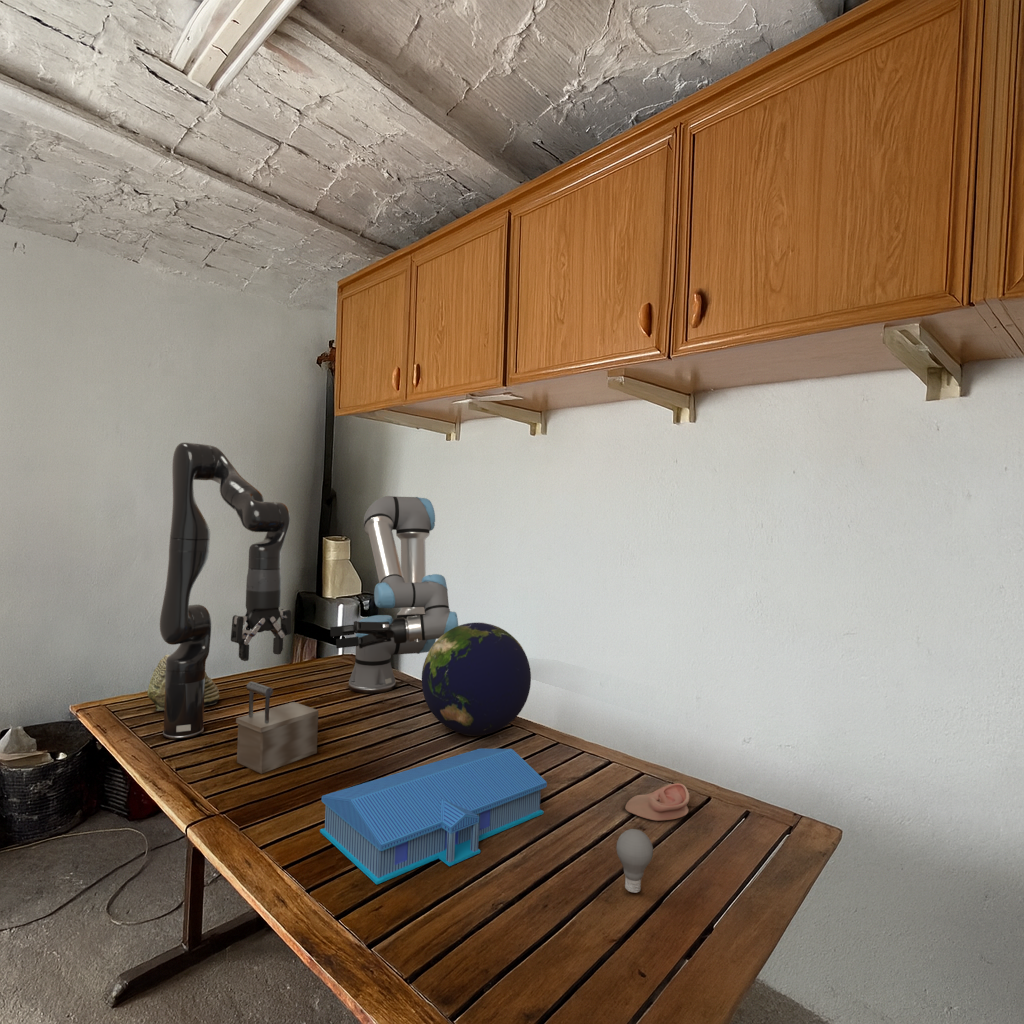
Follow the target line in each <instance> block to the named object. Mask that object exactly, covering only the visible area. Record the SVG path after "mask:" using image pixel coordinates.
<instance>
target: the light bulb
mask: <svg viewBox="0 0 1024 1024" xmlns="http://www.w3.org/2000/svg"><path fill="white" fill-rule="evenodd" d="M615 849H616V854H617V857H618V859H619V861H620V863H621V865H622V867H623V873H624V874H623V875H624V876H625V878H624V888H625V890H627V891H628V892H630V893H634V894H635V893H639V892H640V891H641V889H642V887H641V886H642V879H643V877H644V875H645V871H646V868H647V867H648V866H649V864H650V863H651V861H652V859H653V855H654V847H653V843H652V841H651V838H649V836H648V835H647V834H646V833H645V832H643V831H642V830H641V829H636V828H629V829H627V830H625V831H623V832H622V833H621V834H620V835H619V837H618V839H617V841H616V847H615Z"/></svg>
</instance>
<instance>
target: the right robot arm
mask: <svg viewBox="0 0 1024 1024" xmlns="http://www.w3.org/2000/svg"><path fill="white" fill-rule="evenodd" d="M435 526H436V513H435V508H434V505H433V503H432V501H431V500H430V499H428V498H427V497H426V498H425V497H418V496H394V495H385V496H381V497H379V498H377V499H376V500H374V501H373V502H372V503H371V504H370V505H369V506H368V508H367V510H366V512H365V513H364V517H363V527H364V528H363V529H364V532H365V534H366V535H367V536H368V537H369V541H370V547H371V550H372V555H373V559H374V560H373V561H374V564H375V568H376V574H377V578H378V583H376V585H375V586H374V592H373V593H374V594H373V597H374V604H375V606H376V607H377V608H379V609H390V610H391V609H398V608H399V609H400V610H399V612H397V613H396V617H393V616H392V615H389V614H377V615H371V616H366V617H364V618H362V619H360V620H359V621H357V620H354V621H353V624H346V625H338V626H337V625H336V626H330V627H329V629H330V638H336V637H337V638H336V639H335V647H336V649H345V648H352V647H355V655H354V656H355V659H354V666H353V669H352V672H351V674H350V677H349V679H348V689H349V690H350V691H352V692H355V693H360V694H381V693H386V692H390V691H392V690H394V689H395V688H396V678H395V674H394V670H393V666H392V656H394V655H397V656H398V655H409V654H410V655H412V654H417V655H418V654H419V655H420V654H424V653H428V652H429V650H430V649H431V647H432V646H433V644H434V643H435V642H436V641H437V640H438V639H439V638H440V637H441V636H442V635H443V634H445V633H446V632H447V631H449V630H451V629H453V628H455V627H457V626H459V620H458V613H457V612H456V611H451V608H450V605H449V603H450V602H449V594H448V591H449V590H448V586H447V579H446V578H445V576H444V575H442V574H439V573H433V574H427V560H426V559H427V556H426V555H427V554H426V550H427V549H426V548H427V547H426V540H427V538H428V537H430V535H431V534H430V532H431V531H433V530H434V529H435ZM393 530H394V531H395V535H396V537H397V538H398V539H399V540H400V558H399V554H398V550H397V546H396V542H395V538H394V534H393ZM352 635H355V636H352ZM345 636H350V637H345ZM338 637H343V638H338Z"/></svg>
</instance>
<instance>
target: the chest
mask: <svg viewBox="0 0 1024 1024" xmlns="http://www.w3.org/2000/svg"><path fill="white" fill-rule="evenodd" d="M318 730H319V714H318V715H315V716H312V717H309V718H306V719H303V720H300V721H296V722H293V723H290V724H287V725H284V726H281V727H277V728H274V729H271V730H268V731H265V732H262V733H260V732H258V731H255V730H253V729H250V728H248V727H245V726H243V725H240V724H238V723H237V742H236V743H237V744H236V746H237V747H236V763H237V764H239V765H241V766H244V768H245V767H246V768H247V769H250V770H252V771H254V772H256V773H259V774H261V775H262V774H265V773H268V772H270V771H273V770H276V769H278V768H280V767H284V766H287V765H289V764H292V763H294V762H297V761H299V760H302V759H305V758H308V757H310V756H313V755H316V754H317V753H318V733H319V731H318Z"/></svg>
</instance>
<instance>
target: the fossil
mask: <svg viewBox="0 0 1024 1024" xmlns="http://www.w3.org/2000/svg"><path fill="white" fill-rule="evenodd" d="M170 655H171V654H165V655H164V656H163V657H162V658H161V659H160V660H159V662H158V663H157V666H156V667H155V669H154V670H153V672H152V675H151V677H150V680H149V684H148V688H147V697H148V699H149V700H150V701H152V703H153V704H154V706H155V711H158V712H159V711H162V712H163V711H164V705H165V674H166V660H167V658H168V657H169V656H170ZM220 698H221V696H220V690H219V688H218V686H217V685H216V683H215V682H214V681H213V679H212V678H211V677H209V675H208V674H207V672H206V671H205V693H204V707H207V706H213V705H215V704H217V703H218V701H219V699H220Z"/></svg>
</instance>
